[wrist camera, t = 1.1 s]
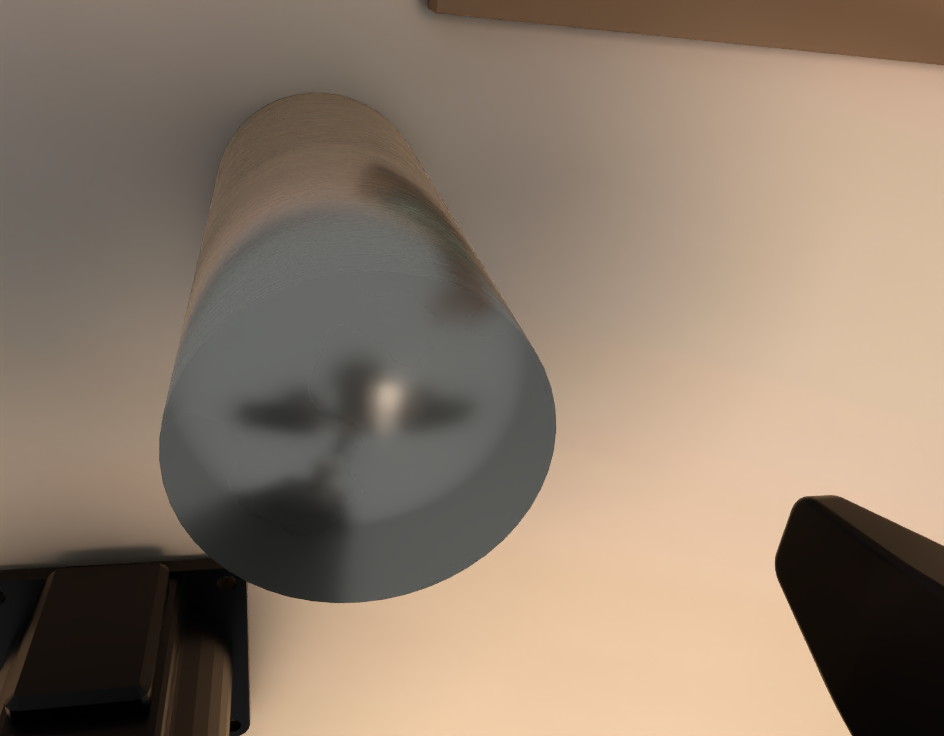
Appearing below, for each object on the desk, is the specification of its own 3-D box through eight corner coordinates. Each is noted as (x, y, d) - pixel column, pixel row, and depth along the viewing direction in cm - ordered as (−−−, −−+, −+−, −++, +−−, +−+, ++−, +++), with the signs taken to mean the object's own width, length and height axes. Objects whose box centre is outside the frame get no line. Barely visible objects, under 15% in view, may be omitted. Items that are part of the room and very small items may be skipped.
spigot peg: (414, 293, 19) (527, 590, 11) (219, 289, 18) (172, 615, 10) (429, 101, 17) (585, 276, 9) (212, 84, 16) (144, 265, 8)
